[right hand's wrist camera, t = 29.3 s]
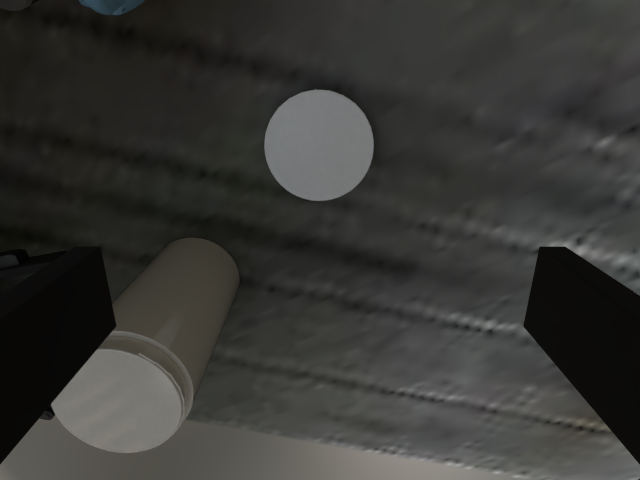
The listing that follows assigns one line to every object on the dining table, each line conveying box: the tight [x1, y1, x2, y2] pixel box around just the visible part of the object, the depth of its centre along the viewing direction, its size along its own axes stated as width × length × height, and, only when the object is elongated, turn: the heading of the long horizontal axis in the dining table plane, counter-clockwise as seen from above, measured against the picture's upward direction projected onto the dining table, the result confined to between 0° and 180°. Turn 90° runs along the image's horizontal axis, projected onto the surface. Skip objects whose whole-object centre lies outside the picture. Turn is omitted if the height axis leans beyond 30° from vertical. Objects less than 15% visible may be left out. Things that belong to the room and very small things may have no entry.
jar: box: [51, 238, 240, 453], centre depth 37 cm, size 10×10×20 cm
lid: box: [264, 89, 374, 201], centre depth 40 cm, size 11×11×2 cm
